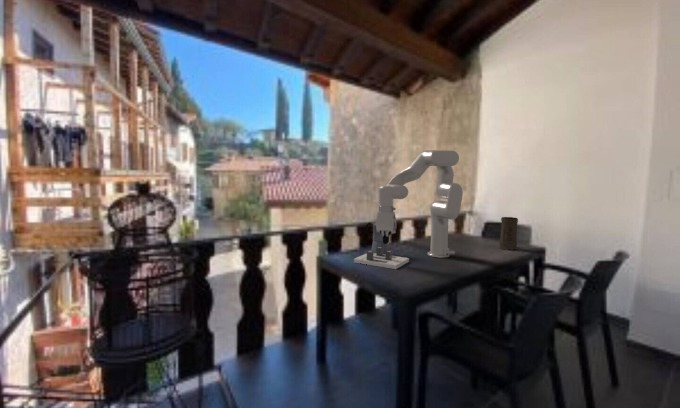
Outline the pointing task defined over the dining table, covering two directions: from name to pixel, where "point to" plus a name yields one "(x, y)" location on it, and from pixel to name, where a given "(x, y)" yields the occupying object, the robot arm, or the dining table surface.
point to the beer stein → (508, 233)
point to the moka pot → (376, 239)
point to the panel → (382, 261)
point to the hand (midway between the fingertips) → (385, 243)
